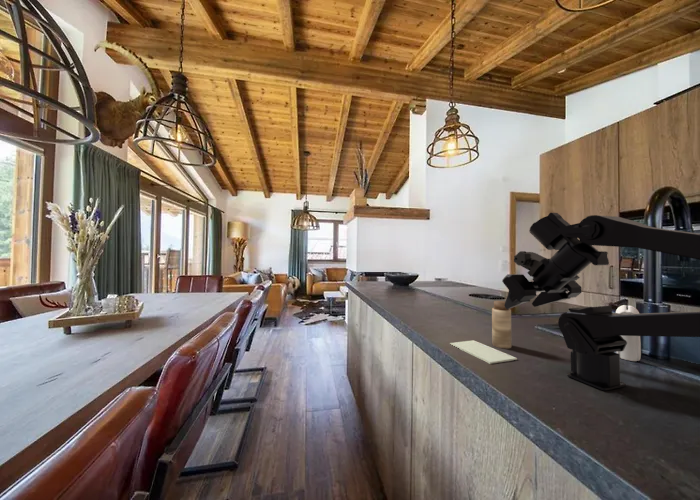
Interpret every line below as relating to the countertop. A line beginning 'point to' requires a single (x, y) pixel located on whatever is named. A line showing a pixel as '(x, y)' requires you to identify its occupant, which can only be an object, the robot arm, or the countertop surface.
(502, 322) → the pepper mill
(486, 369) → the countertop surface
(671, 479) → the countertop surface
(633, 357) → the white rounded-top upright
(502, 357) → the sage mat
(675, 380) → the countertop surface
